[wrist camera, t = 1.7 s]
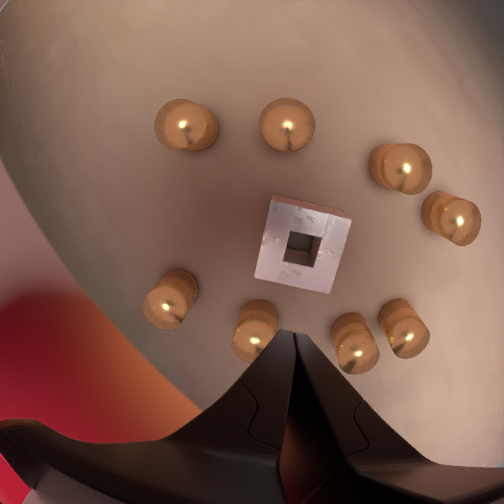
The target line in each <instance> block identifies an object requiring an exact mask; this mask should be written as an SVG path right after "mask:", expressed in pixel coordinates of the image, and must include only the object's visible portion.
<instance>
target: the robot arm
mask: <svg viewBox="0 0 504 504" xmlns="http://www.w3.org/2000/svg"><path fill="white" fill-rule="evenodd" d="M0 452H1V454H2V455H3V456H4V458H5V459H6V460H7V462H8V463H9V464H10V466H11V467H12V468H13V469H14V471H15V472H16V473H17V474H18V475H19V477H20V478H21V479H22V480H23V481H24V482H25V483H26V485H27V486H28V487H29V488H30V489H31V491H30V492H29V494H28V496H27V497H26V499H25V500H24V502H23V504H504V468H485V467H463V466H450V465H442V464H438V463H435V462H433V461H431V460H429V459H427V458H426V457H424V456H423V455H422V454H421V453H419V452H418V451H417V450H416V449H415V448H414V447H413V446H411V445H410V444H409V443H408V442H407V441H406V440H405V439H404V438H402V437H401V436H400V435H399V434H398V433H397V432H396V431H395V430H393V429H392V428H391V427H390V426H389V425H388V424H387V423H386V422H385V421H384V420H383V419H382V418H381V417H380V416H379V415H378V414H377V413H376V412H375V411H374V410H373V409H372V408H371V406H370V405H369V404H368V403H367V402H366V401H365V400H363V398H362V396H361V395H360V394H359V393H358V392H357V391H356V390H355V389H354V387H353V386H352V385H351V384H350V383H349V382H348V381H347V380H346V378H345V377H344V376H343V375H342V374H341V373H340V372H339V371H338V369H337V368H336V367H335V366H334V365H333V364H332V363H331V361H330V360H329V359H328V358H327V357H326V356H325V355H324V353H323V352H322V351H321V350H320V349H319V348H318V347H317V345H316V344H315V343H314V342H313V341H312V340H311V339H310V337H309V336H308V335H307V334H303V333H298V332H294V333H293V332H292V331H288V330H283V329H280V330H279V331H278V332H277V333H276V334H275V336H274V337H273V338H272V339H271V341H270V342H269V343H268V344H267V345H266V347H265V348H264V349H263V350H262V352H261V353H260V354H259V355H258V356H257V357H256V359H255V360H254V361H253V362H252V363H251V365H250V366H249V367H248V368H247V369H246V370H245V372H244V373H243V374H242V375H241V376H240V377H239V379H238V380H237V381H236V382H235V383H234V384H233V385H232V386H231V387H230V388H229V389H228V391H227V392H226V393H225V394H224V395H223V396H222V397H221V398H219V399H218V400H217V401H216V402H215V403H213V404H212V405H211V406H210V407H209V408H207V409H206V410H205V411H203V412H202V413H201V414H199V415H198V416H197V417H195V418H194V419H193V420H191V421H190V422H188V423H187V424H186V425H184V426H183V427H181V428H180V429H179V430H177V431H176V432H174V433H172V434H171V435H169V436H167V437H165V438H163V439H160V440H155V441H143V442H129V443H105V444H104V443H103V444H102V443H101V444H99V443H88V442H82V441H78V440H75V439H72V438H69V437H67V436H65V435H62V434H60V433H58V432H57V431H55V430H53V429H52V428H50V427H48V426H46V425H44V424H42V423H41V422H38V421H36V420H33V419H28V418H23V419H16V418H15V419H6V420H2V421H0ZM0 504H2V503H1V502H0Z"/></svg>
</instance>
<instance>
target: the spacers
mask: <svg viewBox="0 0 504 504" xmlns="http://www.w3.org/2000/svg"><path fill="white" fill-rule="evenodd" d="M218 130H219V126H218V121H217V119H216V117H215V116H214V115H213V114H212V113H211V112H210V111H208V110H206V109H204V108H203V107H201V106H199V105H197V104H195V103H194V102H192V101H189V100H186V99H177V100H173V101H171V102H169V103H167V104H166V105H165V106H163V107H162V108H161V110H160V111H159V113H158V114H157V117H156V120H155V133H156V136H157V138H158V140H159V141H160V142H161V143H162V144H163V145H164V146H166V147H168V148H170V149H177V150H202V149H205V148H207V147H208V146H210V145H211V144H212V143H213V142H214V141H215V139H216V137H217V135H218ZM260 131H261V134H262V136H263V138H264V139H265V140H266V142H267V143H268V144H269V145H270V146H272V147H273V148H274V149H276V150H278V151H281V152H292V151H295V150H298V149H300V148H302V147H304V146H305V145H306V144H307V143H308V142H309V141H310V140H311V138H312V136H313V134H314V131H315V120H314V117H313V114H312V112H311V111H310V109H309V108H308V107H307V106H306V105H305V104H303V103H302V102H300V101H298V100H295V99H290V98H283V99H278V100H275V101H273V102H272V103H270V104H269V105H268V106H267V107H266V108H265V109H264V111H263V112H262V114H261V117H260ZM369 170H370V173H371V176H372V177H373V179H374V180H375V181H376V182H377V183H378V184H380V185H382V186H385V187H388V188H391V189H393V190H396V191H399V192H402V193H405V194H409V195H414V194H418V193H420V192H422V191H423V190H424V189H425V188H426V187H427V186H428V184H429V183H430V180H431V177H432V164H431V160H430V158H429V156H428V154H427V153H426V152H425V151H424V150H423V149H422V148H421V147H419V146H417V145H415V144H391V145H382V146H380V147H378V148H376V149H375V150H374V151H373V152H372V154H371V156H370V159H369ZM422 219H423V221H424V223H425V225H426V226H427V227H428V228H429V229H431V230H433V231H434V232H436V233H438V234H440V235H441V236H443V237H445V238H446V239H448V240H449V241H451V242H453V243H454V244H456V245H458V246H466V245H468V244H470V243H471V242H473V241H474V240H475V238H476V237H477V235H478V233H479V231H480V227H481V215H480V211H479V209H478V207H477V206H476V205H475V204H474V203H473V202H471V201H468V200H465V199H462V198H459V197H455V196H452V195H449V194H446V193H443V192H434V193H432V194H430V195H429V196H428V197H427V198H426V199H425V201H424V203H423V206H422ZM197 294H198V284H197V281H196V279H195V278H194V277H193V275H191V274H190V273H189V272H187V271H185V270H182V269H174V270H171V271H169V272H168V273H167V274H166V275H165V276H164V277H163V278H162V279H161V280H160V281H159V282H158V283H157V285H156V286H155V287H154V288H153V289H152V290H151V291H150V292H149V293H148V294H147V296H146V297H145V298H144V300H143V312H144V314H145V316H146V318H147V319H148V320H149V322H151V323H152V324H153V325H154V326H156V327H158V328H160V329H165V330H171V329H174V328H176V327H178V326H179V325H180V324H181V322H182V321H183V319H184V317H185V315H186V314H187V312H188V310H189V309H190V307H191V305H192V303H193V302H194V300H195V298H196V297H197ZM277 317H278V316H277V312H276V310H275V308H274V307H273V306H272V305H271V304H270V303H268V302H266V301H263V300H252V301H249V302H247V303H246V304H245V305H244V306H243V307H242V308H241V310H240V313H239V317H238V321H237V324H236V328H235V332H234V335H233V339H232V349H233V351H234V353H235V354H236V356H237V357H239V358H240V359H241V360H243V361H246V362H249V363H252V362H253V361H254V360H255V359H256V357H257V356H258V355H259V354H260V353H261V352H262V350H263V349H264V348H265V347H266V345H267V344H268V343H269V342H270V341H271V339H272V338H273V337H274V336H275V334H276V333H277ZM379 323H380V325H381V327H382V329H383V331H384V333H385V335H386V337H387V339H388V342H389V344H390V346H391V348H392V350H393V352H394V354H395V355H396V356H397V357H399V358H402V359H408V358H412V357H414V356H416V355H418V354H419V353H421V352H422V351H423V350H424V349H425V347H426V346H427V344H428V342H429V338H430V333H429V330H428V329H427V327H426V326H425V324H424V323H423V322H422V320H421V319H420V317H419V316H418V315H417V313H416V312H415V311H414V309H413V308H412V307H411V305H410V304H409V303H408V302H407V301H406V300H403V299H395V300H392V301H390V302H388V303H387V304H386V305H385V306H384V307H383V308H382V309H381V311H380V314H379ZM332 336H333V340H334V344H335V349H336V353H337V357H338V362H339V366H340V368H341V369H342V370H343V371H344V372H345V373H348V374H353V375H357V374H362V373H365V372H367V371H369V370H370V369H372V368H373V367H374V366H375V365H376V363H377V362H378V359H379V350H378V347H377V345H376V343H375V340H374V338H373V336H372V333H371V331H370V329H369V326H368V324H367V322H366V320H365V318H364V317H363V316H361V315H359V314H356V313H349V314H345V315H343V316H341V317H340V318H338V319H337V320H336V321H335V323H334V324H333V327H332Z"/></svg>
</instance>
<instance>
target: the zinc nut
mask: <svg viewBox="0 0 504 504" xmlns="http://www.w3.org/2000/svg"><path fill="white" fill-rule="evenodd" d="M351 221H352V220H351V219H350V218H349V217H348V216H347V215H346V214H345V213H344V212H343V211H341V210H337V209H333V208H329V207H325V206H321V205H317V204H313V203H308V202H304V201H300V200H296V199H292V198H287V197H283V196H278V195H274V194H272V198H271V203H270V207H269V212H268V216H267V221H266V225H265V230H264V235H263V239H262V244H261V248H260V253H259V257H258V262H257V266H256V271H255V275H254V278H258V279H262V280H267V281H271V282H276V283H280V284H285V285H289V286H294V287H299V288H303V289H308V290H313V291H317V292H322V293H327V294H330V291H331V288H332V284H333V281H334V278H335V275H336V272H337V269H338V266H339V262H340V259H341V256H342V253H343V249H344V246H345V242H346V239H347V236H348V232H349V229H350V225H351ZM290 230H291V231H295V232H299V233H304V234H308V235H312V236H314V239H313V243H312V247H311V250H310V253H308V252H303V251H299V250H295V249H290V248H286V245H287V241H288V237H289V233H290Z"/></svg>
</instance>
